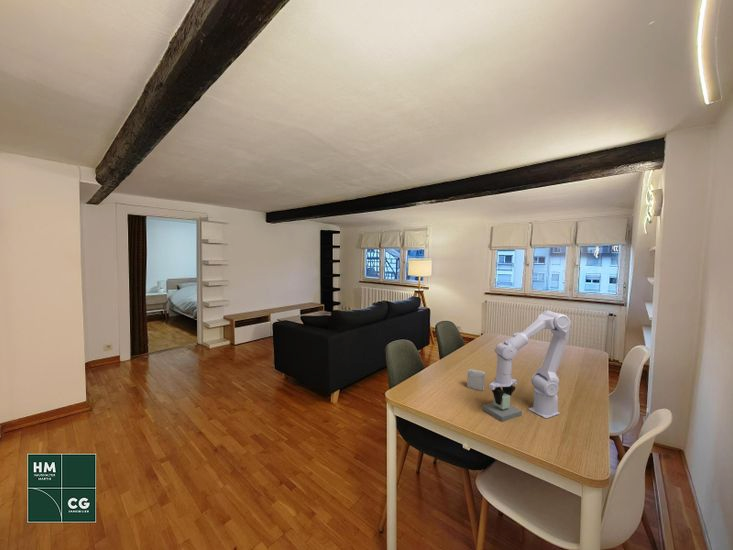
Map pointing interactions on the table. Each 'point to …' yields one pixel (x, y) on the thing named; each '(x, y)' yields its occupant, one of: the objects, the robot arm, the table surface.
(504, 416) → the slate plinth
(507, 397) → the sage cube
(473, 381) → the medicine box
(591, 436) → the table surface
